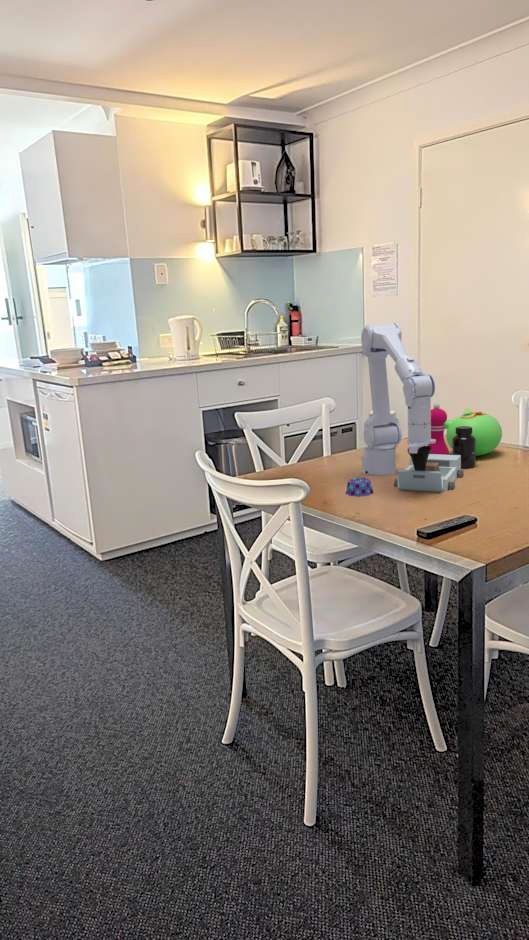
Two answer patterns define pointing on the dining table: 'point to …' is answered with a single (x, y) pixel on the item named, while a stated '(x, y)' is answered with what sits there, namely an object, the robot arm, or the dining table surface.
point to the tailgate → (420, 480)
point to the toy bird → (477, 430)
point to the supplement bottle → (464, 446)
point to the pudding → (359, 487)
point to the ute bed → (443, 469)
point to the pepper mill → (438, 431)
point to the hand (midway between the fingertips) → (420, 474)
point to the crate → (432, 466)
